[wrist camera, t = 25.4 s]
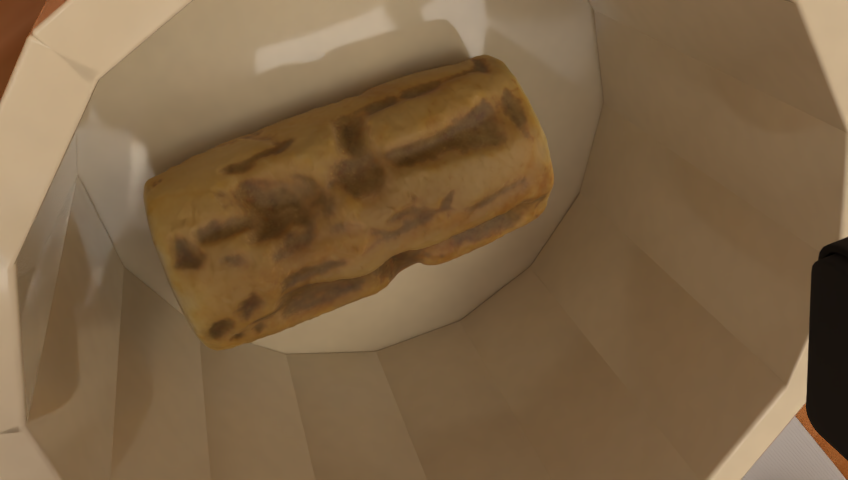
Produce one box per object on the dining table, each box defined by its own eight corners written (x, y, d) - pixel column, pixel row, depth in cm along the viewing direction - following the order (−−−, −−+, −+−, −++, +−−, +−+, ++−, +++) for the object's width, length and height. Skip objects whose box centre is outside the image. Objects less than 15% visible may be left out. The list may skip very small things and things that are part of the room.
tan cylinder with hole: (478, 29, 19) (547, 79, 15) (511, 184, 21) (579, 258, 18) (132, 147, 18) (125, 228, 14) (204, 297, 20) (213, 398, 17)
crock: (181, 434, 22) (195, 761, 15) (-100, -93, 15) (-355, 19, 7) (638, 265, 24) (858, 480, 17) (586, -277, 17) (938, -336, 9)
